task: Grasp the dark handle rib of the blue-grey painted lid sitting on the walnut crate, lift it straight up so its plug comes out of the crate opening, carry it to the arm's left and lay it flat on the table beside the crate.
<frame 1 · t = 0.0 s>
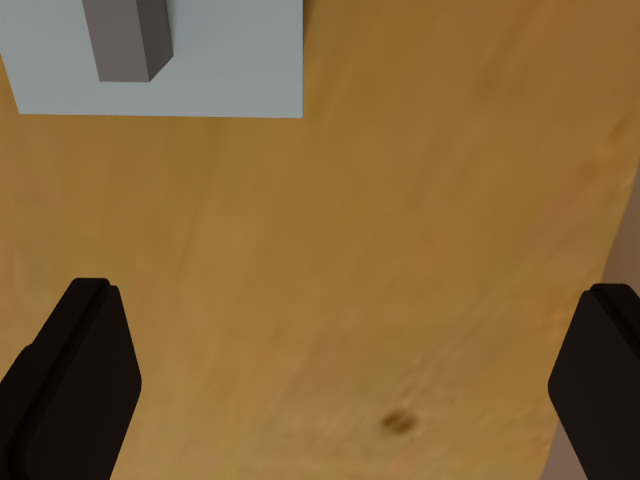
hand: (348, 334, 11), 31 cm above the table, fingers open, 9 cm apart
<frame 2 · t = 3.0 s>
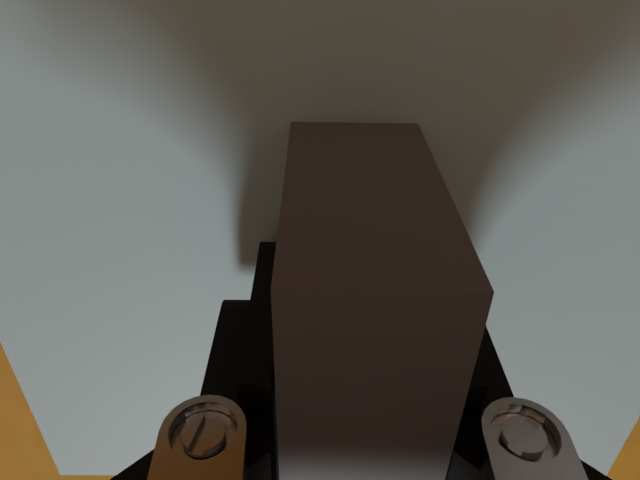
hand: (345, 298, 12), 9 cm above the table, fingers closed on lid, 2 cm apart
lid: (343, 263, 13), point 8 cm above the table, touching crate, gripper
when the fingers open (4 cm above the table, at t = 8.3 s): lid drops 2 cm, point 1 cm above the table.
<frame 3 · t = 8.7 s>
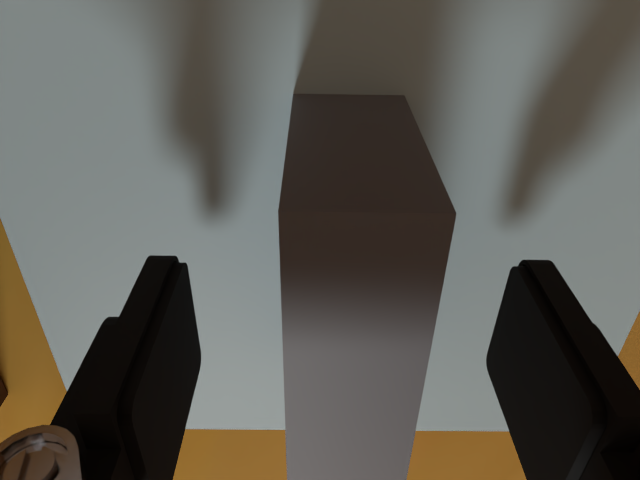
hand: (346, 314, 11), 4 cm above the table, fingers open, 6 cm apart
lid: (340, 227, 14), point 1 cm above the table
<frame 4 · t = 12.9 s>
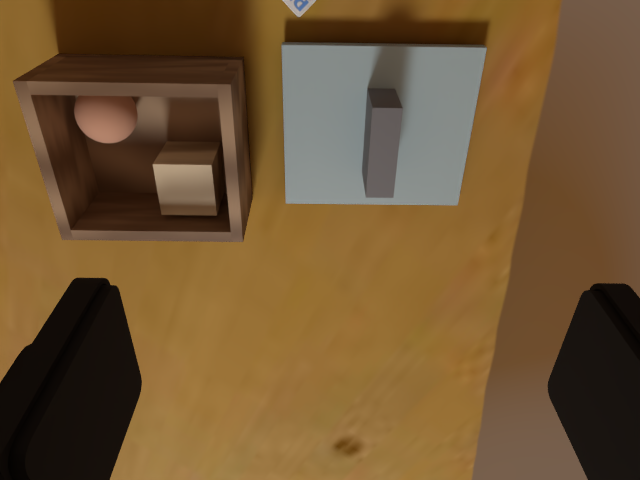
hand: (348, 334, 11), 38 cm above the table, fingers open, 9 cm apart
lid: (376, 128, 47), point 1 cm above the table
block load: (196, 166, 49), point 1 cm above the table, touching crate
crate: (163, 132, 48), on the table
ball load: (116, 103, 46), point 1 cm above the table, touching crate
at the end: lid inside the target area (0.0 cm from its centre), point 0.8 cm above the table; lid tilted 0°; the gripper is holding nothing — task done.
